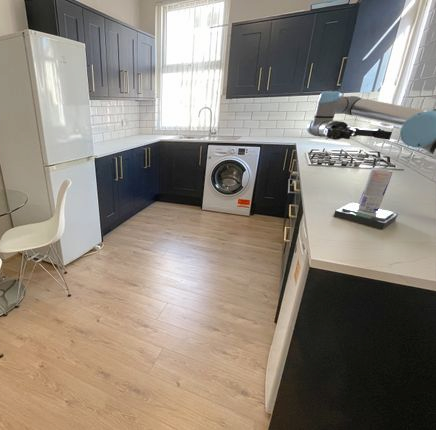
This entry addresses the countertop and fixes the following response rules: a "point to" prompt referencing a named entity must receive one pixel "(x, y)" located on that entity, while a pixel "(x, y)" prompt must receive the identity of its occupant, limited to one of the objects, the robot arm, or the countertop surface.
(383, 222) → the scale
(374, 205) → the beverage can
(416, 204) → the countertop surface
